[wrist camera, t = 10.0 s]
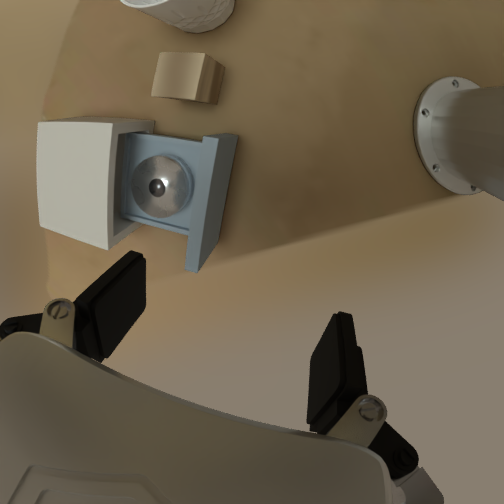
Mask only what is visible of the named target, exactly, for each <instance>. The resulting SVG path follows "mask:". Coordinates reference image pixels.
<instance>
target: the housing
mask: <svg viewBox="0 0 504 504" xmlns="http://www.w3.org/2000/svg"><path fill="white" fill-rule="evenodd" d="M154 123H155V121H153V120H142V119H129V118H113V117H73V118H64V119H56V120H49V121H42V122H38V134H37V195H38V209H39V220H40V226H41V227H44V228H47V229H49V230H52V231H55V232H57V233H60V234H63V235H66V236H68V237H71V238H74V239H77V240H80V241H82V242H85V243H88V244H91V245H94V246H97V247H100V248H103V249H105V250H109V249H111V248H112V247H113V246H114V245H116V244H117V243H118V242H120V241H121V240H122V239H124V238H125V237H126V236H128V235H129V234H130V233H132V232H133V231H135V230H136V229H137V228H139V227H140V226H141V225H143V224H144V223H140V222H136V221H133V220H129V219H125V218H121V217H120V211H121V185H122V170H123V158H124V147H125V138H126V133H129V132H141V133H150V134H153V130H154Z"/></svg>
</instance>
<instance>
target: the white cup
mask: <svg viewBox="0 0 504 504" xmlns="http://www.w3.org/2000/svg"><path fill="white" fill-rule="evenodd" d="M120 1H121V2H122V3H124V4H125V5H127V6H130V7H132V8H134V9H137V10H139V11H141V12H143V13H145V14H148V15H150V16H152V17H154V18H156V19H159V20H161V21H163V22H165V23H167V24H170V25H173V26H176V27H178V28H179V29H181V30H183V31H185V32H192V33H201V32H205V31H210V30H213V29H214V28H216V27H218V26H219V25H221V24H223V23H224V22H225V21H226V20H227V19H228V17H229V16H230V15H231V13H232V12H233V8H234V3H235V0H120Z"/></svg>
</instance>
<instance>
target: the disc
mask: <svg viewBox="0 0 504 504" xmlns="http://www.w3.org/2000/svg"><path fill="white" fill-rule="evenodd" d="M131 190H132V195H133V198H134V200H135V202H136V204H137V205H138V206H139V208H140V209H141V210H142V211H143V212H145V213H146V214H148V215H150V216H152V217H156V218H166V217H170V216H172V215H174V214H175V213H176V212H178V211H179V210H180V209H182V208H183V207H184V206H186V205H187V203H188V202H189V201H190V199H191V197H192V195H193V191H194V178H193V175H192V172H191V170H190V168H189V166H188V165H187V164H186V163H185V162H184V161H183V160H182V159H181V158H179V157H177V156H175V155H172V154H161V155H157V156H153V157H149V158H147V159H145V160H143V161H142V162H141V163H140V164H139V165H138V166H137V167H136V169H135V170H134V173H133V175H132V180H131Z"/></svg>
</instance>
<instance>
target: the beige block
mask: <svg viewBox="0 0 504 504" xmlns="http://www.w3.org/2000/svg"><path fill="white" fill-rule="evenodd" d="M224 70H225V67H224V66H223V65H221V64H220V63H218V62H217V61H216V60H214V59H213V58H211V57H210V56H208V55H207V54H205V53H188V52H160V56H159V60H158V64H157V69H156V73H155V78H154V83H153V88H152V93H151V96H154V97H162V98H169V99H176V100H184V101H194V102H202V103H210V104H217V102H218V97H219V92H220V88H221V83H222V79H223V75H224Z"/></svg>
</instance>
